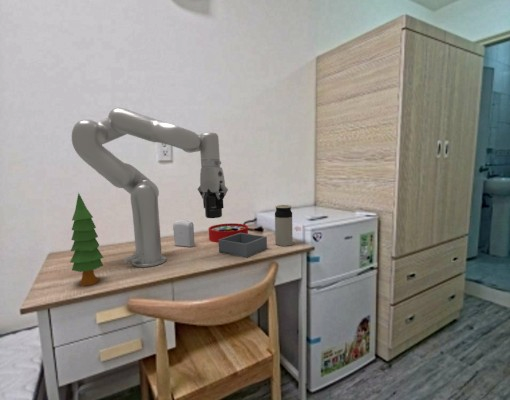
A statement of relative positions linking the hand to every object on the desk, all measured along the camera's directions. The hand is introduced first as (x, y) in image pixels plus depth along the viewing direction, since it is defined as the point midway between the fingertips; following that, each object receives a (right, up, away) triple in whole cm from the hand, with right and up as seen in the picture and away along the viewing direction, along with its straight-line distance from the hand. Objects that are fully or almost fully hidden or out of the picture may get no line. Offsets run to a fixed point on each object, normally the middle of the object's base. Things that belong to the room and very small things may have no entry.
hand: (213, 207), depth 123 cm
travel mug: (+30, -18, +17) cm, 39 cm away
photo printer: (-16, -19, +19) cm, 31 cm away
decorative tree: (-38, -24, -22) cm, 51 cm away
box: (+12, -19, +9) cm, 24 cm away
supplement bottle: (0, -4, +1) cm, 4 cm away
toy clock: (+3, -17, +32) cm, 36 cm away
